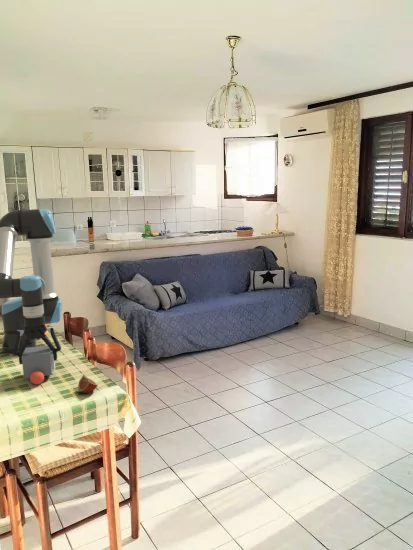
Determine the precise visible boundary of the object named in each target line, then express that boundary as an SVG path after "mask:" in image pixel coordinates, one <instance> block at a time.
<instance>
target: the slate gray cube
mask: <svg viewBox="0 0 413 550" xmlns="http://www.w3.org/2000/svg"><path fill="white" fill-rule="evenodd" d="M51 353H52V351H51V349H50V348H49V347H48V346H47V345H42V346H41V345H40V346H39V345H38V346H36V347H29V348H25V350H24V352H23V354H22V364H23V365H22V364H21V365H22V372H23V373H22V374H23V378H24V379H30V376H31V374H32V373H33V372H35V371H40V372H42V373H43V375H44V377H45V376H52V375H53V372H54V369H53V368H52V357H51Z"/></svg>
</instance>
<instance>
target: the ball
mask: <svg viewBox="0 0 413 550" xmlns="http://www.w3.org/2000/svg"><path fill="white" fill-rule="evenodd" d="M29 380H30V382H31V384H34V385H40V384H42V383H43V381H44V380H45V376H44V375H43V373H42V372H40V371H35V372H33V373H32V374H31V376H30V377H29Z"/></svg>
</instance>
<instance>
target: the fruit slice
mask: <svg viewBox="0 0 413 550" xmlns="http://www.w3.org/2000/svg"><path fill="white" fill-rule="evenodd" d="M97 387H98V384H97V383H96V381H94V380H92V379H91V378H89V377H86V376H84V375H82V376H81V377H80V379H79V381H78V385H77V388H78V389H77V390H78V391H79V392H80V393H82V394H90V393H92V392H93V391H94V390H95V389H96V388H97Z"/></svg>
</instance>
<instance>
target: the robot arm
mask: <svg viewBox="0 0 413 550" xmlns="http://www.w3.org/2000/svg"><path fill="white" fill-rule="evenodd" d="M56 233H57V231H56V225H55V221H54V218H53V214H52V212H51V211H50V209H47V208H37V209H33V208H32V209H15V210H11V211H9V212H7V213H6V214H4V215H3V216H2V217H1V218H0V299H9V298H10V299H11V298H14V299H11V300H7V301H5V302H4V303H2V305H1V316H2V324H3V333H4V334H3V339H2V343H1V351H2V352H3V353H5V354H6V353H7V354H12V355H13V356H14V357H16V356H17V357H18V362H19V365H22V366H23V364H22V354H23V352H24V350H25V348H29V347H37V340H42V341H43V342H44V343H45V344H46V346H48V347H49V348H50V349H51V351H52V353H51V357H52V368H53V370H55V369H56V361H57V360H58V354H57V353H58V352H60V351H61V350H62V346H61V344H60V341H59V339H58V337H57V335H56V333H55V327H54V326H49V327H48V326H47V327H46V326H45V324H46V325H48V324H49V325H51V324H57V323H60V321H61V320H62V319H61V318H62V307H63V299H62V298H61V297H59V294H58V293H56V292H55V283H54V275H53V273H54V272H53V263H52V253H51V251H52V250H51V241H52V239H53V238H54V235H55V234H56ZM20 236H25V238H26V241H28V242H29V244H30V252H31V255H30V256H31V263H32V272H33V273H32V275H24V276H21V278H20V277H19V278H13V274H14V273H13V271H14V261H15V247H16V241H17V240H18V239H19V237H20ZM46 331H47V333H49V334H50V336H51V339H52V340H53V341H51V340H50V339H49V338H48V336H47V334H45V332H46ZM52 342H53V343H52Z"/></svg>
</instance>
